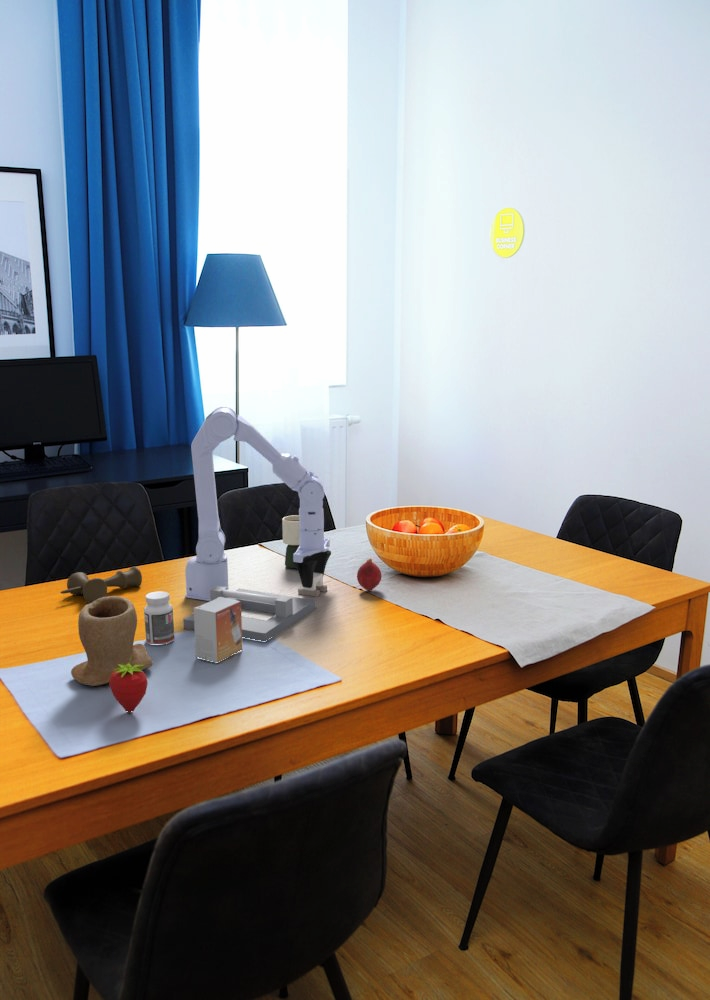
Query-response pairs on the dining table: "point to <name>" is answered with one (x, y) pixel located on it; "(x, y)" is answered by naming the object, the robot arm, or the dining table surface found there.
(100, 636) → the stone cup
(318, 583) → the white notched u-block
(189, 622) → the grey piece
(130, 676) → the strawberry
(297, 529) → the character mug
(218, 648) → the small box
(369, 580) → the onion
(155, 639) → the pill bottle
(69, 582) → the kendama
